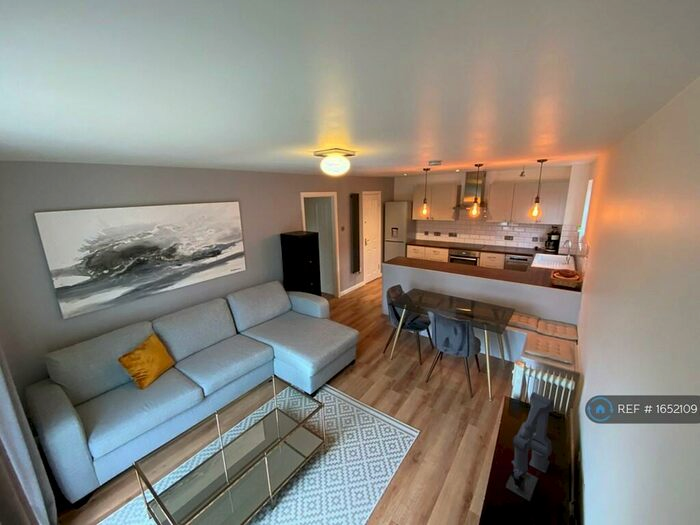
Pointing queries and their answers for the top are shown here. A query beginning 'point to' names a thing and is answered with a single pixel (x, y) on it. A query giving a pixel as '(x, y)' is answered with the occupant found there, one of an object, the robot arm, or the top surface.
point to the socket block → (529, 486)
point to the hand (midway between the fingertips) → (520, 480)
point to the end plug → (522, 482)
